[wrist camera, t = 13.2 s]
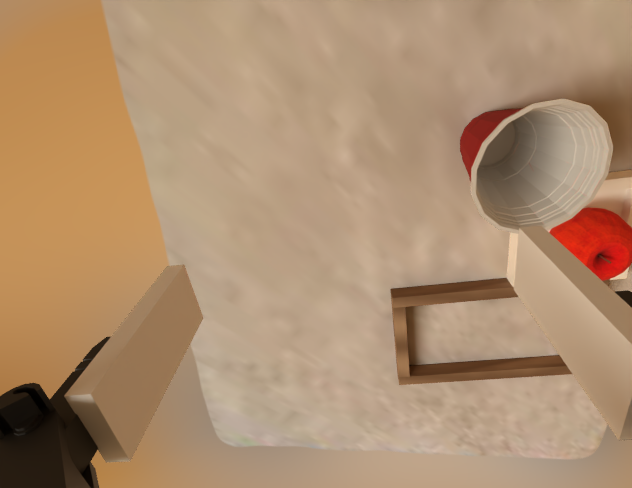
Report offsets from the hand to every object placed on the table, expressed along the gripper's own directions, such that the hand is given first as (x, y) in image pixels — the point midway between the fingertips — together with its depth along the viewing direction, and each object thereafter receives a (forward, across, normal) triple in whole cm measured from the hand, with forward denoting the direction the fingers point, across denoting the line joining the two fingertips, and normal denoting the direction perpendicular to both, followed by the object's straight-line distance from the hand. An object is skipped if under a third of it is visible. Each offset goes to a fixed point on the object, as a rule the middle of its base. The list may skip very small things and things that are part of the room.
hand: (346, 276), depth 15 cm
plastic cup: (+29, +15, -3) cm, 33 cm away
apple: (+28, +24, -14) cm, 39 cm away
